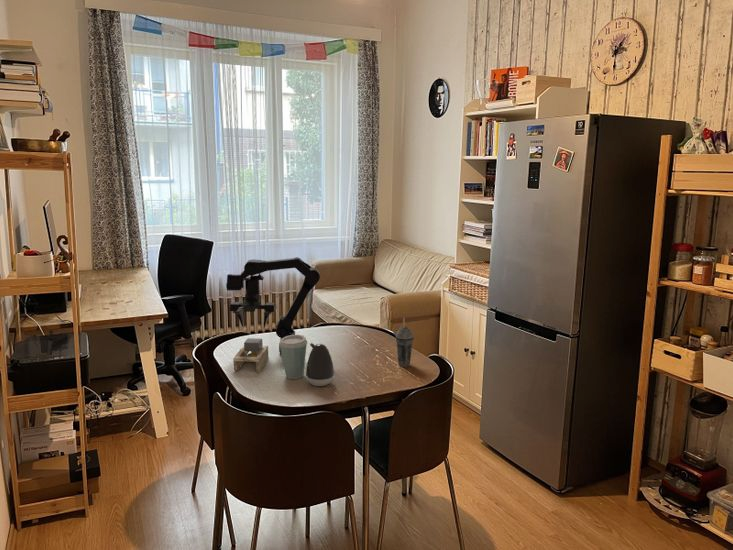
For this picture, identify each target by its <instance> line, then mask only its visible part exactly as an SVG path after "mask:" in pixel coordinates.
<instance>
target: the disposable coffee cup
mask: <svg viewBox="0 0 733 550" xmlns="http://www.w3.org/2000/svg"><path fill="white" fill-rule="evenodd" d="M280 340H281V341H280ZM280 340H279V342H278V347H279V346H280V350H281V355H280V356H281V358H282V364H283V368H284V374H285V376H286V378H288V379H290V380H292V379H293V380H296V379H300V378H303V376H304V373H305V365H306V364H305V363H306V356H307V355H306V353H307V346H308V345H307V344H308V340H307V339H306V337H305V336H304V335H301V334H295V335H289V336H286V337H284V338H282V339H281V338H280Z"/></svg>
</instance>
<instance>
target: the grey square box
mask: <svg viewBox="0 0 733 550" xmlns="http://www.w3.org/2000/svg"><path fill="white" fill-rule="evenodd" d="M243 346H244V351H249V353H248V354H247V356H248V357H257V355H258V354H256V351H260V350H261V348H262V347H263V346H264V345H263V338H261V337H260V338H258V337H256V338H255V337H254V338H253V337H252V338H251V337H249V338H247V339H246V340H245V341H244V342H243Z"/></svg>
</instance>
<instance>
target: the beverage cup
mask: <svg viewBox="0 0 733 550" xmlns="http://www.w3.org/2000/svg"><path fill="white" fill-rule="evenodd" d="M402 320H403V322H402V323H403V326H402V327H401V328H399V329H398V330H397V331H396V334H395V342H396V350H397V362H398V366H399V367H402V368H408V367H410V364H411V359H412V350H413V343H414V333H413V330H412V329H410V328H409V327H406V326H405V323H406V322H405V317H403V319H402Z"/></svg>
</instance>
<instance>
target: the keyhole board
mask: <svg viewBox="0 0 733 550" xmlns="http://www.w3.org/2000/svg"><path fill="white" fill-rule="evenodd" d="M249 353H250V351H244V345H243V346H241V348H240V349H239V351H238V352H236V354H235V355H234V356H233V359H232V361H233V372H234V371H237V370H238V369H239V370H240V369H241V367H242V366H243V364H244V363H245V362H254V363H255V373H260V372H261V371H262V369H263V368H262V367H264V366H265V364H266V363H267V362H268V360H269V345H263V347H262V348H261V350H260V351H256V354H258V355H257V357H248V354H249ZM244 361H245V362H244ZM241 365H242V366H241ZM240 366H241V367H240ZM239 370H238V371H239ZM238 371H237V372H238Z"/></svg>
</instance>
